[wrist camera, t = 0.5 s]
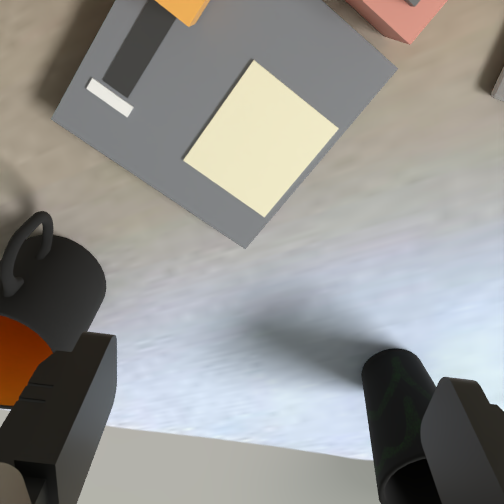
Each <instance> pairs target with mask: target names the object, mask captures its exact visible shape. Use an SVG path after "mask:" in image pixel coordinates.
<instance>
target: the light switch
mask: <svg viewBox="0 0 504 504" xmlns="http://www.w3.org/2000/svg"><path fill="white" fill-rule="evenodd" d="M491 96H492V97H493V98H495V99H498V100H501V101H504V67H503V69H502V71H501V73H500V75H499V77H498V79H497V82H496V84H495V86H494V88H493V90H492V92H491Z"/></svg>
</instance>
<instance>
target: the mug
mask: <svg viewBox="0 0 504 504" xmlns="http://www.w3.org/2000/svg"><path fill="white" fill-rule="evenodd" d="M41 223H42V225H43V235H39V236H35V237H30V238H28V239H26V238H27V237H28V236H29V235H30V234H31V233H32V232H33V231H34V230H35V229H36V228H37V227H38V226H39V225H40V224H41ZM105 292H106V280H105V275H104V272H103V270H102V268H101V266H100V264H99V263H98V261H97V260H96V259H95V258H94V256H93V255H92V254H91V253H90V252H89V251H87V250H86V249H85V248H84V247H82V246H81V245H79V244H77V243H76V242H73V241H71V240H69V239H66V238H62V237H59V236H53V221H52V218H51V216H50V215H49V214H48V213H47V212H44V211H40V212H37V213H35V214H34V215H33V216H31V217H30V218H29V219H28V220H27V221H26V222H25V223H24V224H23V225H22V226H21V227H20V228H19V229H18V230H17V231H16V232H15V233H14V235H13V236H12V238H11V239H10V241H9V243H8V245H7V247H6V249H5V252H4V255H3V258H2V260H1V261H0V408H2V409H12V408H13V406H14V404H15V403H16V401H18V400H19V396H20V394H21V393H22V391H23V390H24V388H25V386H27V385H28V381H29V380H30V378H31V376H32V375H33V373H34V371H35V370H36V368H37V366H38V365H39V364H40V363H41V362H43V361H44V360H45V359H46V358H48V357H49V356H50V355H51V354H53V353H54V352H55V351H57V350H59V351H67V352H72V350H73V349H74V347H75V345H76V343H77V341H78V339H79V337H80V336H81V334H82V333H83V332H85V331H86V332H87V331H88V329H89V327H90V325H91V323H92V321H93V319H94V317H95V315H96V313H97V311H98V309H99V307H100V305H101V303H102V301H103V299H104V297H105Z"/></svg>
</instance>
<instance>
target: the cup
mask: <svg viewBox="0 0 504 504" xmlns="http://www.w3.org/2000/svg"><path fill="white" fill-rule="evenodd" d="M362 381H363V389H364V396H365V403H366V410H367V417H368V424H369V431H370V439H371V446H372V453H373V460H374V467H375V474H376V481H377V488H378V495H379V501H380V502H381V504H442V502H441V499H440V497H439V494H438V491H437V488H436V485H435V482H434V479H433V476H432V473H431V470H430V467H429V464H428V461H427V458H426V455H425V452H424V450H423V446H422V443H421V423H422V419H423V417H424V414H425V412H426V410H427V408H428V405H429V403H430V401H431V399H432V396H433V394H434V392H435V389H436V386H435V384H434V382H433V381H432V379H431V377H430V376H429V374H428V372H427V371H426V369H425V367H424V366H423V364H422V363H421V361H420V359H419V358H418V357H417V356H416V355H415V354H413V353H412V352H409V351H407V350H402V349H389V350H385V351H381V352H379V353H377V354H375V355H374V356H372V357H371V358H370V359H369V360H368V361H367V362H366V363H365V365H364V367H363V369H362Z"/></svg>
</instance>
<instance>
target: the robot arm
mask: <svg viewBox="0 0 504 504" xmlns="http://www.w3.org/2000/svg"><path fill="white" fill-rule="evenodd" d="M116 386H117V339H116V336H115V335H110V334H102V333H94V332H86V331H85V332H83V333H82V334H81V336H80V337H79V339H78V341H77V343H76V345H75V347H74V349H73V350H72V352H67V351H59V350H57V351H55V352H54V353H53V354H51V355H50V356H49V357H48V358H46V359H45V360H44V361H43V362H41V363H40V364H39V365H38V366H37V368H36V370H35V371H34V373H33V375H32V376H31V378H30V380H29V381H28V385H27V386H25V388H24V390H23V391H22V393H21V394H20V396H19V400H18V401H16V403H15V404H14V406H13V408H12V409H11V411H10V413H9V414H8V416H7V418H6V419H5V421H4V422H3V424H2V426H1V427H0V504H77V501H78V498H79V496H80V493H81V490H82V487H83V485H84V482H85V479H86V477H87V474H88V471H89V468H90V466H91V463H92V460H93V458H94V455H95V452H96V449H97V447H98V444H99V441H100V439H101V436H102V433H103V431H104V428H105V425H106V422H107V420H108V417H109V414H110V412H111V409H112V406H113V402H114V398H115V393H116ZM421 443H422V446H423V450H424V452H425V455H426V458H427V461H428V464H429V467H430V470H431V473H432V476H433V479H434V482H435V485H436V488H437V491H438V494H439V497H440V499H441V502H442V504H504V411H503V410H502V409H501V408H500V407H499V406H498V405H494V404H490V403H489V401H488V399H487V398H486V396H485V394H484V392H483V390H482V388H481V386H480V385H479V384H478V382H476V381H474V380H466V379H458V378H450V377H443V378H442V379H441V380H440V381H439V383H438V385H437V387H436V389H435V392H434V394H433V396H432V399H431V401H430V403H429V405H428V408H427V410H426V412H425V414H424V417H423V419H422V423H421Z"/></svg>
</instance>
